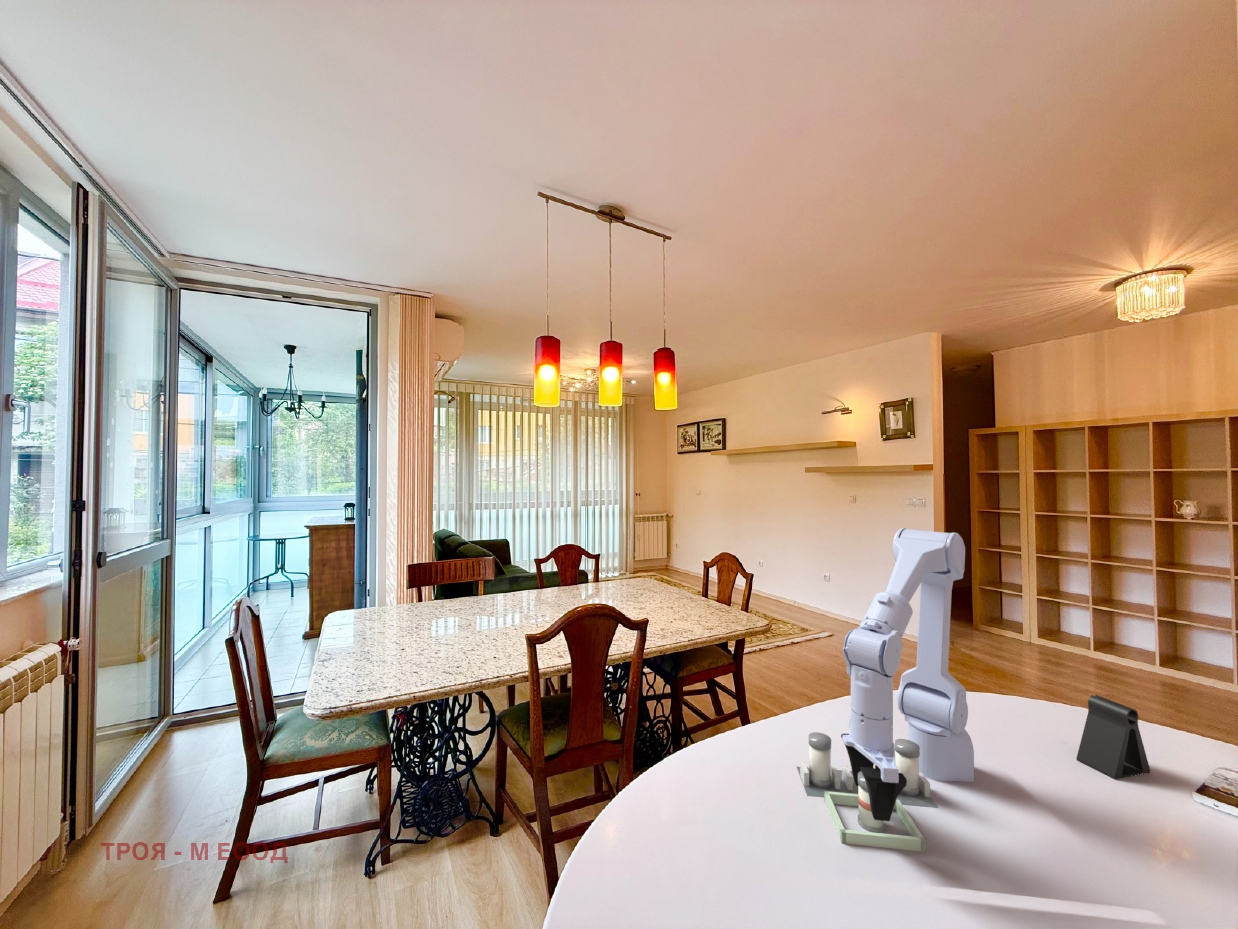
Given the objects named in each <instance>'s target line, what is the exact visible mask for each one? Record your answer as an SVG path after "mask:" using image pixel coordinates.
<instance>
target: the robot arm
mask: <svg viewBox="0 0 1238 929" xmlns="http://www.w3.org/2000/svg"><path fill="white" fill-rule="evenodd" d="M892 552H893V557H894V560H895V564H894V567H893V569H892V572H891V575H890V576H889V577H890V578H889V581H888V583H887V587H886V590H885V591H881V592H877V593H876V594H875V595H874V597H873V599H872V601H871V603H870V605H869V607H868V609H867V611H866V613H865V615H864V616H863V619H862V621H861V623H860V625H859V627H856V628H854V629H850V630H849V631H848V632H847V634H846V636H845V638H844V643H843V648H842V656H843V658H844V662H845V664H846V673H847V675H848V677H850V716H848V728H849V733H841V735H840V737H841V739H842V741H843V744H844V746H845V748H846V752H847V756H848V758H849V763H850V767H851V768H850V769H851V771H852V774H853V778H854V782H855V784H856V786H858V773H859V772H860V771H861V772H862V774H863V776H864V778H865V781H866V784H867V788H868V792H869V799H870V807H871V812H872V815H873V818H874V820H880V821H884V822H890V820H891V817H892V814H893V808H894V805H895V802H896V799H897V797H898V795H899V794H900V792H901V791H902V790H903V788H904V787H905V786H906V784H907V779H906V778H905V776H904V775H903V774H902V773H899V769H898V768H897V766H896V751H895V742H894V675H895V674H896V673H897V671H898V669H899V668H900V664H901V659H902V650H903V645H904V643H903V641H902V639H903V636H904V634H905V631H906V630H907V628H908V626H909V623H910V620H911V619H912V617H913V611H914V610H913V608H912V605H911V604H910V601H911V600H912V598H913V596H914V595H915V593H916V592H917V590H918V588H919V587H920V589H919V608H918V609H919V610H918V627H917V629H918V630H917V631H918V632H917V648H916V650H917V652H916V666H915V667H912V668H910V669H907V670H905V671H904V672H903V673H902V674H901V676H900V682H899V687H898V690H897V693H896V694H897V695H896V705H897V708H898V710H899V711H900V714H902V715H904V721H905V722H907V723H908V724H907V725H908V726H907V731H908V733H907V734H908V735H907V736H908V737H907V740H910V741H912V742H915V743H916V744H918V745H919V747H920V756H919V773H922V774H923V775H924V777H925V778H926V779H929V780H933V781H936V782H955V781H957V782H966V783H967V782H968V783H974V782H975V750H974V746H973V741H972V738H971V736H970V734H969V732H968V731H967V730H966V726H967V722H968V719H969V718H968V717H969V706H968V703H967V691H966V688H965V686H963V685H962V684H961V682H959V681H958V680H957V679H956V678H955V677H954V676H953V675H952V674H951V673H950V672H949V655H950V636H951V635H950V634H951V614H952V613H951V612H952V611H951V610H952V590H953V585H954V582H955V581H957V580H962V579H963V578H964V572H965V563H966V562H965V561H966V545H965V543H964V540H963V538H962V536H961V535H960V534H959V533H958V532H940V531H933V530H931V531H930V530H921V529H920V530H919V529H918V530H917V529H909V528H905V527H901V528H899V529H898V530H897V531H896V532H895V534H894V536H893V539H892ZM874 766H875V767H874Z"/></svg>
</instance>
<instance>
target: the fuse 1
mask: <svg viewBox="0 0 1238 929" xmlns="http://www.w3.org/2000/svg"><path fill="white" fill-rule="evenodd" d="M808 745H809V746H808V752H809V754H808V759H809V760H808V768H809V782H810V783H811V784H812V785H813V786H815V787H818V788H822V789H826V788H829V787H831V765H832V764H831V760H832V757H831V756H832V754H831V752H832V751H831V749H832V739H831V737H830V736H829V735H827V734H826V733H822V732H816V731H814V732H813V731H812V732H810V733H809V734H808Z"/></svg>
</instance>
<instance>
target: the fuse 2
mask: <svg viewBox="0 0 1238 929" xmlns="http://www.w3.org/2000/svg"><path fill="white" fill-rule="evenodd" d="M894 747H895V763H896V766H897V768H898V769H899V773H902V774H903V775H904V776H905V778H906V779H907V784H906V786H905V787H904V788H903V790H902V791H901V792H900V793H902V794H904V795H906V796H910V797H916V796H919V794H920V785H919V756H920V747H919V745H918V744H916V743H915V742H912V741H910V740H908V739H906V738H897V739H895V741H894Z"/></svg>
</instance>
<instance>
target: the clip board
mask: <svg viewBox="0 0 1238 929" xmlns="http://www.w3.org/2000/svg"><path fill="white" fill-rule="evenodd" d="M796 769H797V771H798V774H799V775H798V776H799V778H800V780H801V783H802V785H803V788H804V791H805V793H806V796H807V797H817V798H824V791H829V792H840V793H851V794H858V786H856V784H855V782H854V778H853V774H852V770H850V769H849V768H848V766H846V765H842V767H841V769H837V766H836V765H834V764H831V787H829V788H826V789H822V788H818V787H815V786H813V785H812V784H811V783H810V782H809V766H808V767H807V765H806V762H800V763H799V766H796ZM919 785H920V794H919V796H916V797H910V796H906V795H904V794H902V793H900V794H899V795H898V797H897V798H898V799H899V800H900V802H901V804H902V805H903V806H912V807H913V806H915V807H926V808H937V809H939V806H938V805H937V804H936V802H935V801H934V800H933V798H932V797H931V783H930V782H929V781H928V778H926V777H924V775H923V774H922V773H919Z"/></svg>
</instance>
